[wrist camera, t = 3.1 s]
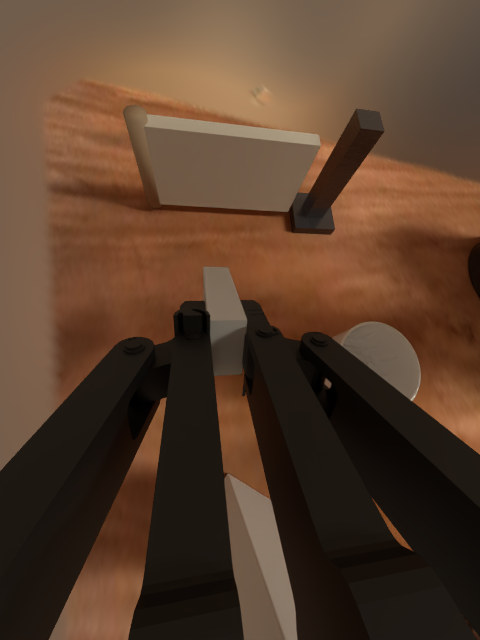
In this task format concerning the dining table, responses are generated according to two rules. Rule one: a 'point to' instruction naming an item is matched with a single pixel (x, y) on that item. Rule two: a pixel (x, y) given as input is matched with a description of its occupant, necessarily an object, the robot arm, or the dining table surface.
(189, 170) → the gate panel
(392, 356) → the white cup
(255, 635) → the milk
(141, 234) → the dining table surface
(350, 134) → the gate post
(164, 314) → the dining table surface
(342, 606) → the robot arm
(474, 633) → the sauce bottle
